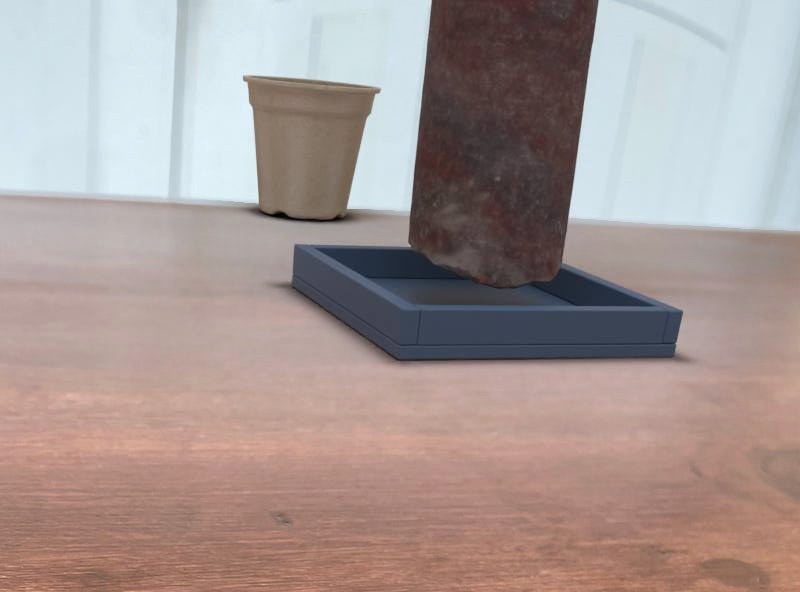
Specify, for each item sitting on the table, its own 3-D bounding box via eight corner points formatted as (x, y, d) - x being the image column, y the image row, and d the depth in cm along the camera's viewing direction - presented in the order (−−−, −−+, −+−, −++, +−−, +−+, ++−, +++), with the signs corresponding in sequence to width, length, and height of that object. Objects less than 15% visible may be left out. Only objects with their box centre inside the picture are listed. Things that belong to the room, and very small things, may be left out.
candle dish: (524, 288, 66) (529, 249, 65) (674, 357, 54) (684, 310, 53) (291, 285, 61) (293, 243, 60) (397, 360, 49) (403, 308, 48)
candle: (370, 268, 56) (423, -256, 47) (446, 254, 61) (506, -217, 52) (516, 298, 52) (604, -264, 43) (583, 280, 58) (673, -221, 48)
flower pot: (313, 202, 91) (322, 77, 87) (395, 223, 84) (409, 89, 80) (211, 205, 85) (215, 72, 81) (290, 227, 79) (299, 84, 75)
